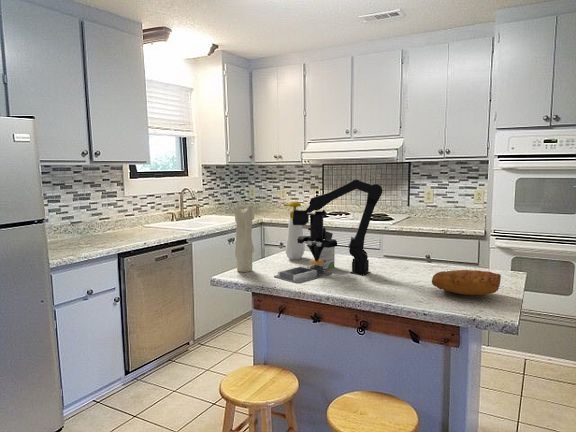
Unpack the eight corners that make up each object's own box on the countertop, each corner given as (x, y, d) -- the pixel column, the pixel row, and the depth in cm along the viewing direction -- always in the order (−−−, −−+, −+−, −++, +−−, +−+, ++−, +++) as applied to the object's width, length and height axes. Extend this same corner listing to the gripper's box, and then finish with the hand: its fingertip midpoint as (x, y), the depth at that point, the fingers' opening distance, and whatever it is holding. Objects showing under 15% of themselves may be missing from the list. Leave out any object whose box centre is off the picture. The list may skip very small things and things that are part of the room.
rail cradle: (332, 273, 180) (332, 267, 180) (297, 283, 166) (297, 276, 166) (308, 268, 190) (308, 263, 190) (274, 277, 176) (273, 271, 176)
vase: (258, 270, 189) (256, 203, 186) (245, 274, 182) (244, 205, 179) (243, 267, 194) (241, 203, 190) (230, 271, 187) (229, 204, 183)
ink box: (328, 265, 196) (328, 240, 195) (335, 267, 192) (335, 242, 191) (313, 268, 192) (313, 242, 190) (320, 270, 188) (320, 244, 186)
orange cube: (323, 268, 184) (323, 260, 183) (317, 270, 181) (317, 262, 180) (316, 267, 187) (316, 259, 187) (309, 268, 184) (309, 260, 184)
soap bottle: (291, 255, 220) (290, 200, 217) (308, 257, 215) (308, 200, 212) (278, 260, 209) (277, 202, 206) (296, 262, 204) (295, 202, 201)
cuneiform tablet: (503, 292, 150) (504, 271, 150) (495, 305, 137) (496, 281, 136) (440, 283, 163) (441, 263, 162) (427, 294, 149) (427, 272, 148)
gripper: (345, 225, 181) (345, 261, 182) (313, 222, 194) (313, 255, 196) (328, 228, 173) (328, 265, 175) (296, 224, 186) (296, 258, 188)
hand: (316, 260), depth 183 cm, fingers closed, pressing on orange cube
